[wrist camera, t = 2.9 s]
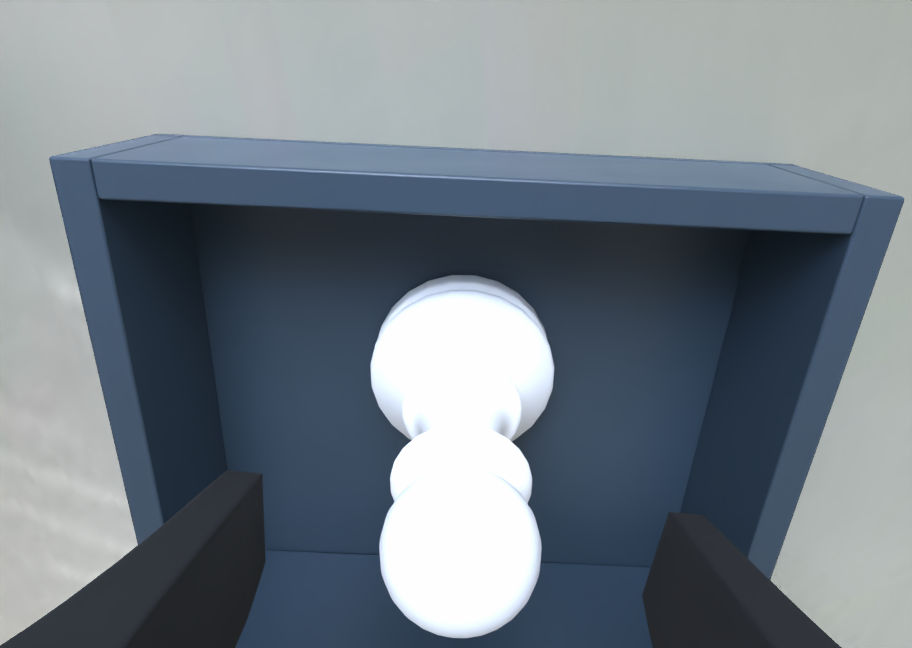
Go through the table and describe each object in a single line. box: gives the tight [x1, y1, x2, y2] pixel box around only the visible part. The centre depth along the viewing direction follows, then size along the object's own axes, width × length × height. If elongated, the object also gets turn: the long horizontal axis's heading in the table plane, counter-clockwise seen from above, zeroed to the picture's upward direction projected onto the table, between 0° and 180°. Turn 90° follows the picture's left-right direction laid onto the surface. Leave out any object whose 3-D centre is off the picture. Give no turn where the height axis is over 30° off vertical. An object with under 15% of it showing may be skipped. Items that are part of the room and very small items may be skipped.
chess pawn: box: [370, 275, 555, 638], centre depth 13 cm, size 5×5×9 cm
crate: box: [49, 134, 904, 648], centre depth 16 cm, size 17×15×4 cm
